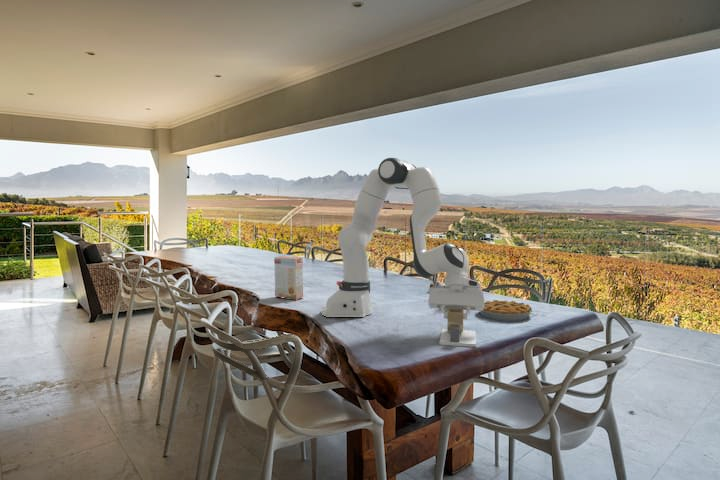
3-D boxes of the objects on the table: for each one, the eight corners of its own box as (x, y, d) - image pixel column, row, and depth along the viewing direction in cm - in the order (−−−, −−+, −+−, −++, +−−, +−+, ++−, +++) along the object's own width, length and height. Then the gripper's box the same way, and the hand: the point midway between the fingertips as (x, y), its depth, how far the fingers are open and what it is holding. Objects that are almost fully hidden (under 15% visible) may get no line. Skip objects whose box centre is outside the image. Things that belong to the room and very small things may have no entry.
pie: (494, 307, 209) (494, 296, 209) (541, 315, 193) (541, 303, 193) (468, 315, 194) (468, 304, 193) (516, 325, 178) (516, 312, 178)
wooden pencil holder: (448, 327, 168) (448, 308, 167) (463, 328, 166) (463, 309, 166) (446, 335, 158) (446, 315, 157) (462, 336, 156) (463, 316, 156)
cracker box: (303, 298, 228) (303, 257, 227) (295, 301, 223) (295, 258, 222) (282, 295, 236) (281, 255, 234) (274, 297, 231) (273, 256, 229)
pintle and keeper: (451, 334, 166) (451, 312, 165) (459, 335, 165) (460, 313, 164) (450, 344, 154) (450, 321, 153) (459, 345, 153) (459, 321, 153)
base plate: (442, 331, 170) (442, 328, 169) (475, 333, 167) (475, 330, 167) (439, 344, 154) (439, 341, 154) (476, 347, 151) (476, 344, 151)
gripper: (428, 280, 172) (425, 312, 164) (484, 282, 167) (484, 315, 159) (429, 290, 177) (426, 321, 168) (483, 292, 172) (484, 324, 163)
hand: (455, 318), depth 163 cm, fingers closed on wooden pencil holder, 5 cm apart
